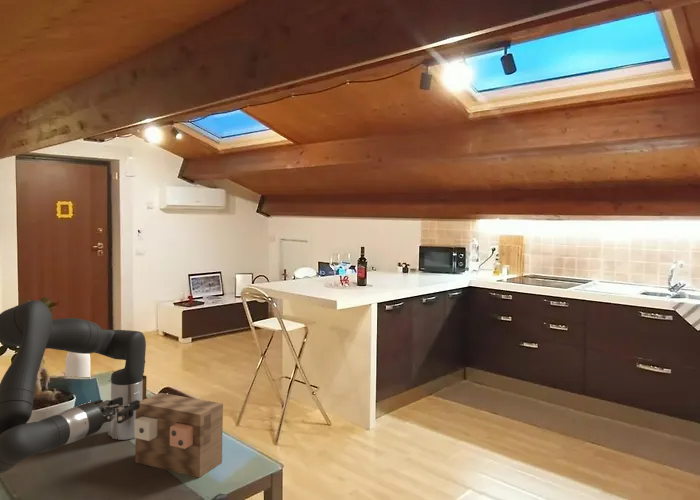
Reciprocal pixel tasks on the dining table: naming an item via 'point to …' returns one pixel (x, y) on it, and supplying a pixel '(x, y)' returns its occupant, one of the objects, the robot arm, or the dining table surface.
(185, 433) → the two dot button
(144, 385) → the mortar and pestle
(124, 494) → the dining table surface
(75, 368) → the bottle
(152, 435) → the one dot button
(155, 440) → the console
